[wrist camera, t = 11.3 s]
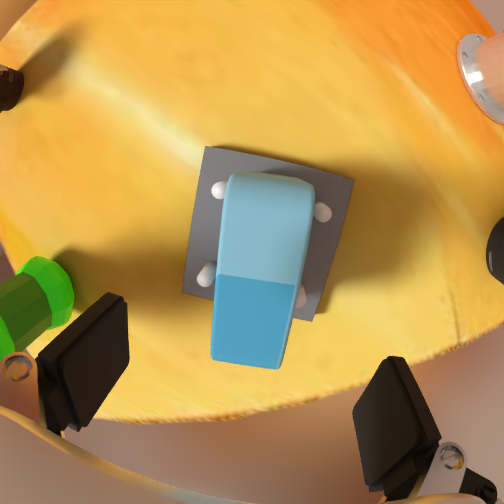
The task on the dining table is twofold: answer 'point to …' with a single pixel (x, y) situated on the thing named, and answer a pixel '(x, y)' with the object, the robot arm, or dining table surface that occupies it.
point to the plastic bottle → (33, 303)
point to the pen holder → (496, 252)
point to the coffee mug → (10, 87)
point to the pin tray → (210, 215)
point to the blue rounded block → (259, 266)
